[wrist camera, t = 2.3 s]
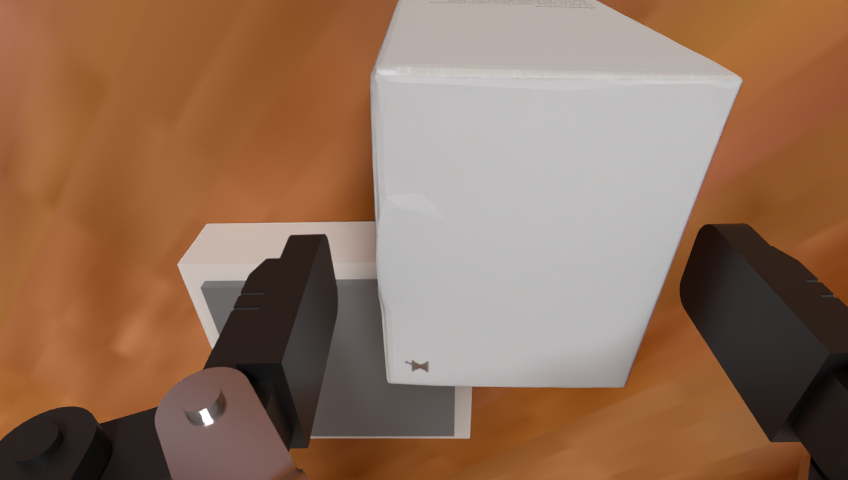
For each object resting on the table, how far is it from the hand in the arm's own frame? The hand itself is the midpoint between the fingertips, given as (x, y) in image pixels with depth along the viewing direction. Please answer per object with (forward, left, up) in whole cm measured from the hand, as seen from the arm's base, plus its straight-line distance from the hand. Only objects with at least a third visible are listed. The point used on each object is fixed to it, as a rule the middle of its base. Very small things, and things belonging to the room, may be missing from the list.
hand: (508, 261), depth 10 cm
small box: (0, 0, -13) cm, 13 cm away
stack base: (+7, +14, -12) cm, 20 cm away
